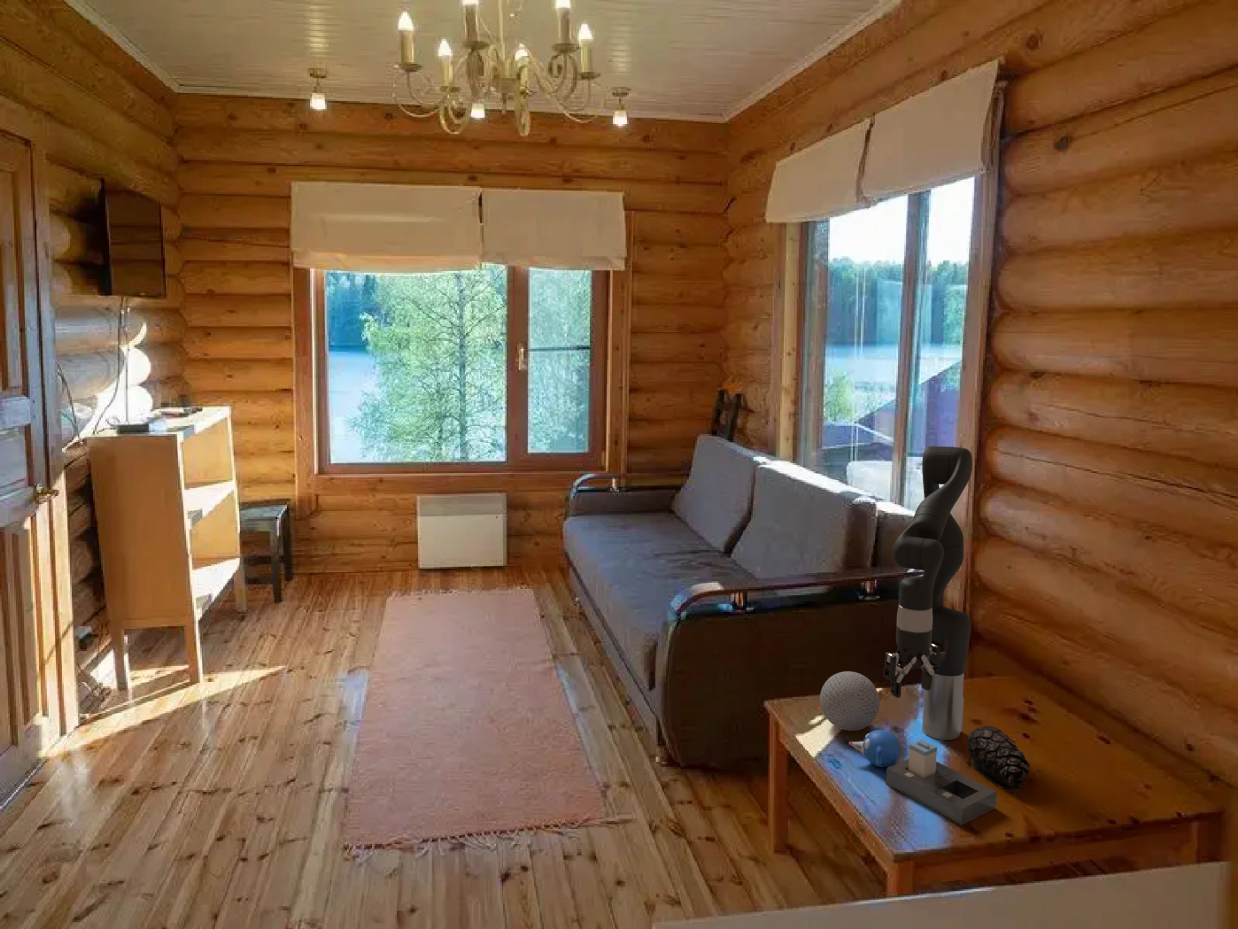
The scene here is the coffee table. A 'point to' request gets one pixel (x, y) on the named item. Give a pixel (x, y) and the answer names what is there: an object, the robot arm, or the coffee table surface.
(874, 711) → the decorative ball
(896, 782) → the panel
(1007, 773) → the pine cone
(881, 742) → the blue mole toy
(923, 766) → the plug
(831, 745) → the coffee table surface
